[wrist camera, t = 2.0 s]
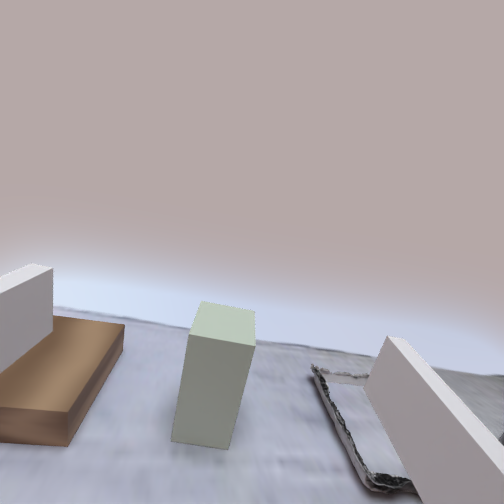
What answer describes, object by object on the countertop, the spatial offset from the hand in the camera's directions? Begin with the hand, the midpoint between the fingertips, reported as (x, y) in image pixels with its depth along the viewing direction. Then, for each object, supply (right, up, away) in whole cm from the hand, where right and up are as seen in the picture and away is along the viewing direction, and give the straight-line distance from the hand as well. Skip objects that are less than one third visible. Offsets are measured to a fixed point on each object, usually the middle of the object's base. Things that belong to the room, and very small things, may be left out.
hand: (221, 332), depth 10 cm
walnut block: (-19, -10, +14) cm, 26 cm away
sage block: (-3, -13, +14) cm, 20 cm away
